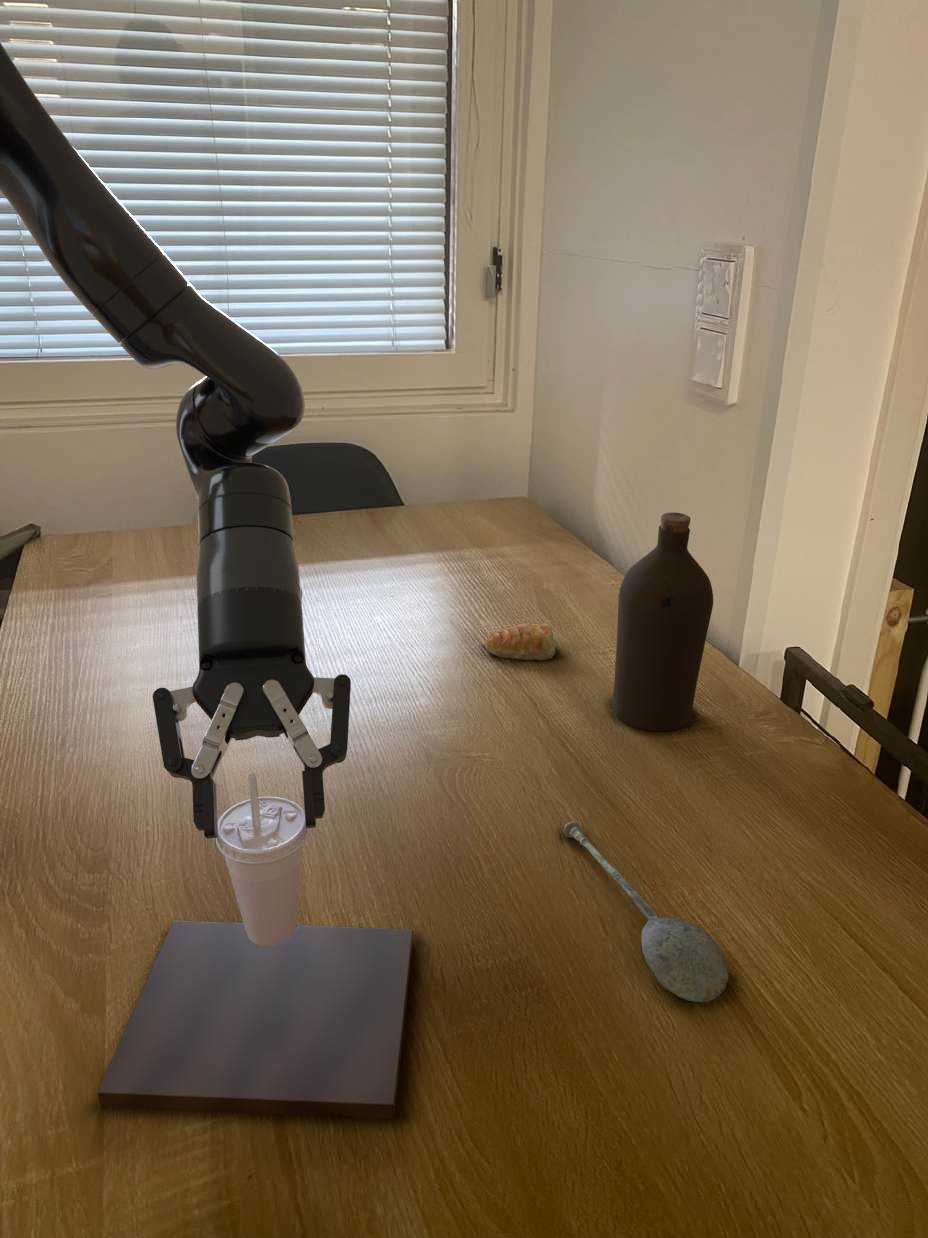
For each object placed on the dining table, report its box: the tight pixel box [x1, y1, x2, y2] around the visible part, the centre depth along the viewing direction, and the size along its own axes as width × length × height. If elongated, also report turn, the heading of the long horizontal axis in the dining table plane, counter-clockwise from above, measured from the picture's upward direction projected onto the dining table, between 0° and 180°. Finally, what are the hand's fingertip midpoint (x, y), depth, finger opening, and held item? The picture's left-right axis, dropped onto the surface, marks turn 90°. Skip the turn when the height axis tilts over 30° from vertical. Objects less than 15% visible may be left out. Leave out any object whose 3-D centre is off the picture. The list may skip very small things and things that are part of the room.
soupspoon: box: [562, 820, 729, 1003], centre depth 79 cm, size 22×3×7 cm
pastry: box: [484, 622, 556, 661], centre depth 124 cm, size 9×7×4 cm
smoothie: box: [215, 773, 310, 946], centre depth 65 cm, size 6×6×14 cm
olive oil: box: [612, 511, 714, 733], centre depth 105 cm, size 11×11×25 cm
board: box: [97, 920, 414, 1120], centre depth 68 cm, size 20×16×2 cm
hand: (261, 831), depth 62 cm, fingers closed on smoothie, 6 cm apart
